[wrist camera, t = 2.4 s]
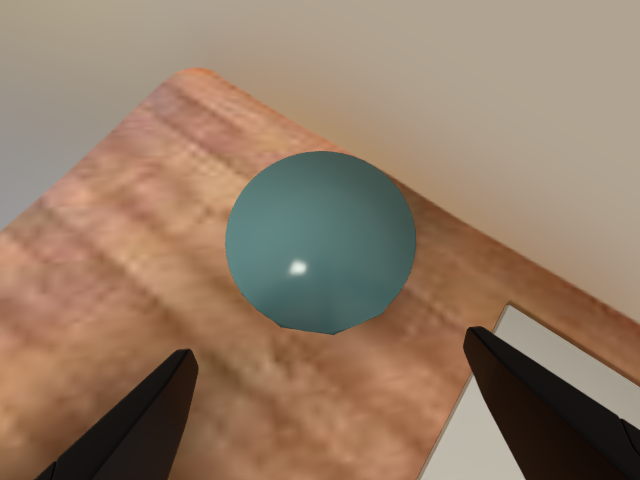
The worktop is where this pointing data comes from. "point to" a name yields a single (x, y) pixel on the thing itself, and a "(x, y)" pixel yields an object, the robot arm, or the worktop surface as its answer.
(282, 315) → the teal cover
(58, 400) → the worktop surface
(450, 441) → the grey mat
